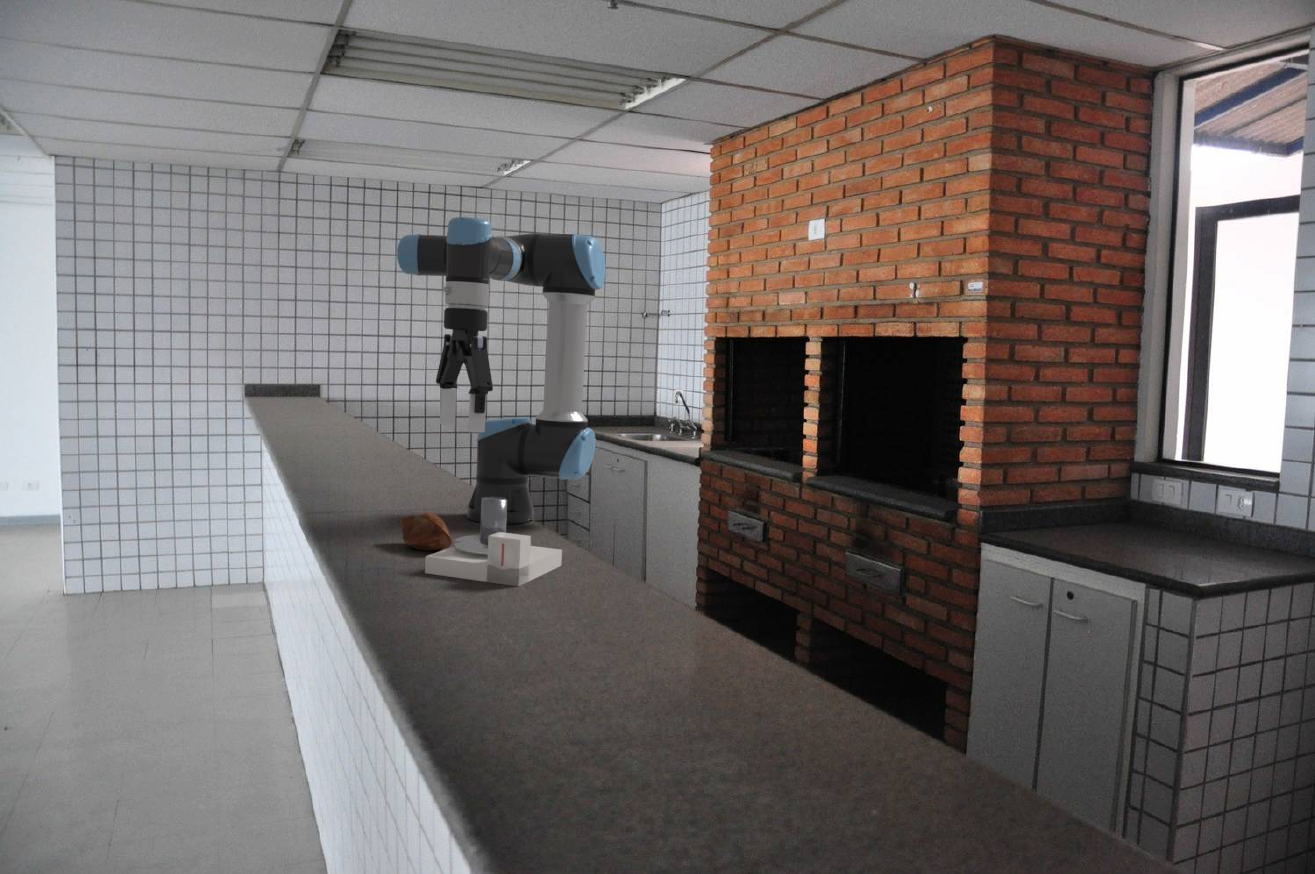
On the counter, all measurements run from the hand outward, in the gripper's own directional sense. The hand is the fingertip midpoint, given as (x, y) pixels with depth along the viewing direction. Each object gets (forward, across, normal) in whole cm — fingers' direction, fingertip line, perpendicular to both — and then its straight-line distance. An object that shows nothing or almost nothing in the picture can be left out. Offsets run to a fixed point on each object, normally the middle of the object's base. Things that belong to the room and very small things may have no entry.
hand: (461, 428), depth 178 cm
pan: (+22, +1, +6) cm, 23 cm away
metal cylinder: (+21, +1, +6) cm, 22 cm away
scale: (+25, +3, +6) cm, 26 cm away
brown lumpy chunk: (+25, -16, 0) cm, 30 cm away
